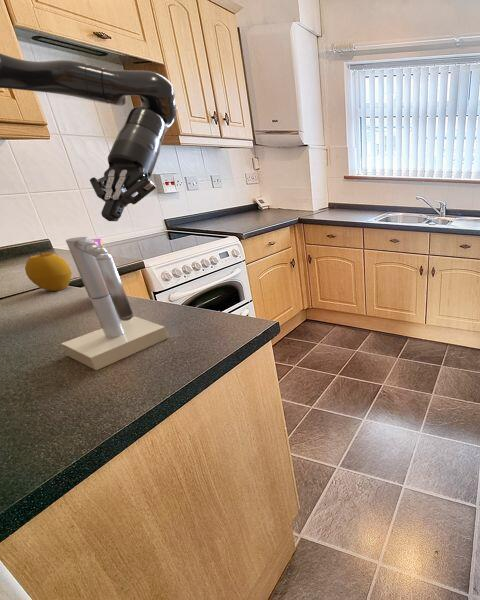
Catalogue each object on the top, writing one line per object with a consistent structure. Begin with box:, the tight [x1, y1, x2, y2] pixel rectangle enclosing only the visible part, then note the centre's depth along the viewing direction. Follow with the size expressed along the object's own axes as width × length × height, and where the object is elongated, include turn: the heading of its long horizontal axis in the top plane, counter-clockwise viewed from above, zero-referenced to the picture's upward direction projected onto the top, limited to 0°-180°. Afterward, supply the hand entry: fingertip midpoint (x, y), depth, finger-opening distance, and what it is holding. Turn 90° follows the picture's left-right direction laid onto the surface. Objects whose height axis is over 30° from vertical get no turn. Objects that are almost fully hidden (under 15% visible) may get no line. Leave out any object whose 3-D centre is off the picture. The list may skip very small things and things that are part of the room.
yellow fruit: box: [24, 252, 72, 292], centre depth 103 cm, size 10×10×12 cm
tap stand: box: [61, 294, 169, 371], centre depth 71 cm, size 14×12×12 cm
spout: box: [65, 236, 134, 321], centre depth 64 cm, size 15×3×14 cm, turn 56°
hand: (109, 218), depth 67 cm, fingers closed
